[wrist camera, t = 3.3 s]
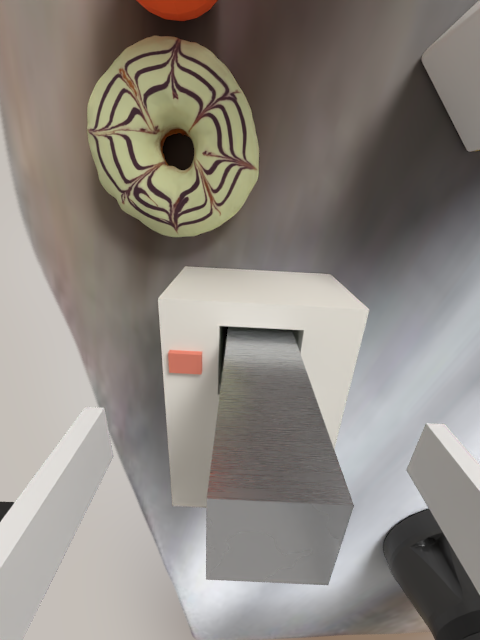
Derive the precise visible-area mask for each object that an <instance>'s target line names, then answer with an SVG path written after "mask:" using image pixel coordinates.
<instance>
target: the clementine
mask: <svg viewBox="0 0 480 640" xmlns="http://www.w3.org/2000/svg"><path fill="white" fill-rule="evenodd" d="M136 1H137V2H139V3H140V4H141V5H142V6H143V7H144V8H145V9H147V10H148V11H149V12H151V13H153V14H155V15H157V16H159V17H161V18H163V19H168V20H176V21H186V20H191V19H195V18H198V17H199V16H201V15H202V14H204V13H205V12H207V11H209V10H210V9H211V8H212V6H213V5H214V4H215V3H216V2H217V0H136Z"/></svg>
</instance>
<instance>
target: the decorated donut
mask: <svg viewBox="0 0 480 640" xmlns="http://www.w3.org/2000/svg"><path fill="white" fill-rule="evenodd" d="M87 122H88V125H87V134H88V142H89V145H90V149H91V153H92V157H93V160H94V162H95V165H96V168H97V171H98V176H99V181H100V183H101V184H102V186H103V187H104V188H105V190H106V191H107V192H108V193H109V194H110V195H112V196H113V197H115V198H116V199H117V201H118V203H119V205H120V208H121V209H122V210H123V211H124V212H126V213H127V214H129V215H131V216H133V217H135V218H137V219H139V220H140V221H141V222H142V223H143V224H145V225H146V226H148V227H149V228H150V229H152V230H153V231H156V232H158V233H160V234H162V235H166V236H170V237H184V236H196V235H199V234H201V233H205V232H208V231H211V230H213V229H215V228H217V227H219V226H221V225H222V224H223V223H224V222H226V221H227V220H229V219H230V218H232V217H233V216H234V215H235V214H236V213H237V212H238V211H239V210H240V209H241V207H242V206H243V204H244V203H245V201H246V199H247V197H248V195H249V194H250V192H251V190H252V189H253V187H254V185H255V183H256V182H257V180H258V175H259V146H258V139H257V136H256V130H255V124H254V121H253V118H252V111H251V108H250V106H249V104H248V102H247V99H246V97H245V95H244V93H243V91H242V90H241V88H240V87H239V86H238V84H237V82H236V80H235V78H234V77H233V75H232V74H231V72H230V71H229V69H228V68H227V67H226V66H225V65H224V64H223V63H222V62H221V61H220V60H219V59H218V58H217V57H216V56H215V55H214V54H213V53H212V52H211V51H210V50H208V49H207V48H205V47H203V46H201V45H199V44H198V43H196V42H188V41H186V40H182V39H179V38H176V37H171V36H163V37H160V36H156V35H155V36H152V37H147V38H145V39H144V40H141V41H139V42H137V43H135V44H133V45H131V46H129V47H127V48H126V49H125V50H124V51H123V52H122V53H121V54H120V56H119V57H118V58H117V59H116V60H115V61H114V62H113V64H112V65H111V66H110V67H109V69H108V70H107V71H106V72H105V73H104V75H103V76H102V77H101V78H100V79H99V80H98V82H97V84H96V85H95V87H94V90H93V92H92V94H91V96H90V99H89V102H88V106H87ZM177 133H181V134H182V135H185V134H186V136H188V137H190V138H191V139H192V141H193V145H194V160H193V162H192V164H191V166H190V167H189V168H188V169H186V170H179V169H177V168H176V167H174V166H169V165H168V163H167V162H166V160H165V158H164V154H163V152H162V150H163V149H162V147H163V143H164V140H165V138H166V137H168V136H169V135H172V134H177Z"/></svg>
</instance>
